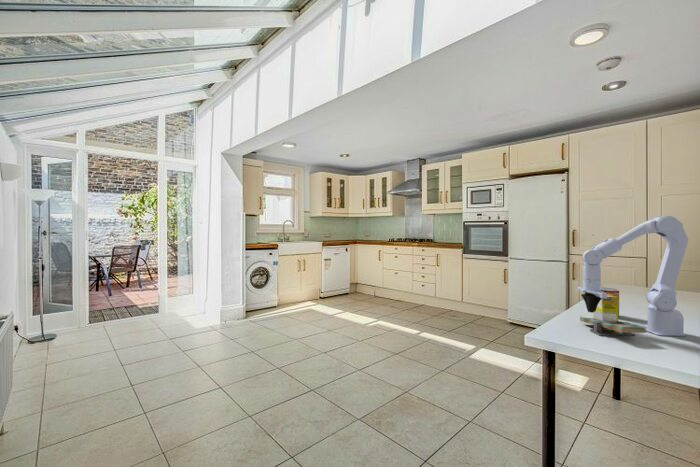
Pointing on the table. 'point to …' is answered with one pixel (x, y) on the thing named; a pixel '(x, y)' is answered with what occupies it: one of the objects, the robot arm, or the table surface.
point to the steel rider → (605, 317)
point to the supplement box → (608, 305)
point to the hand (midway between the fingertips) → (591, 312)
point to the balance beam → (617, 326)
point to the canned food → (612, 293)
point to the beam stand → (608, 331)
